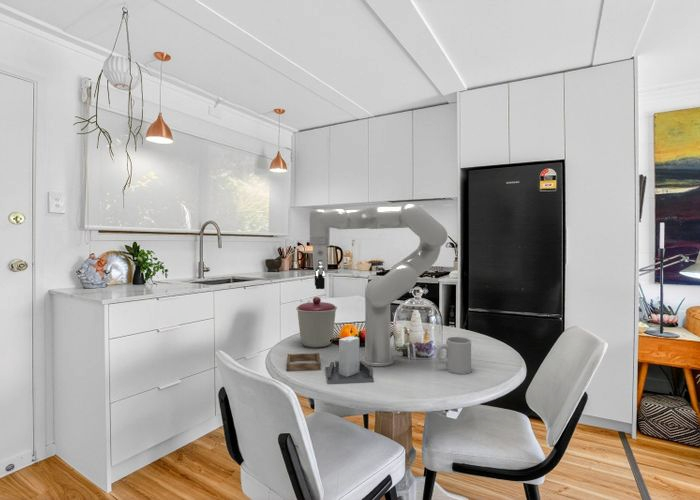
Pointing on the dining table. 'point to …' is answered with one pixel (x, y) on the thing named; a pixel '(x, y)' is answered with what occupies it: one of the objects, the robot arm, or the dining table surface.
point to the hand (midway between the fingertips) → (319, 287)
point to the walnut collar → (303, 365)
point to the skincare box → (348, 356)
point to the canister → (316, 323)
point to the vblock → (360, 377)
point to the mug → (456, 355)
